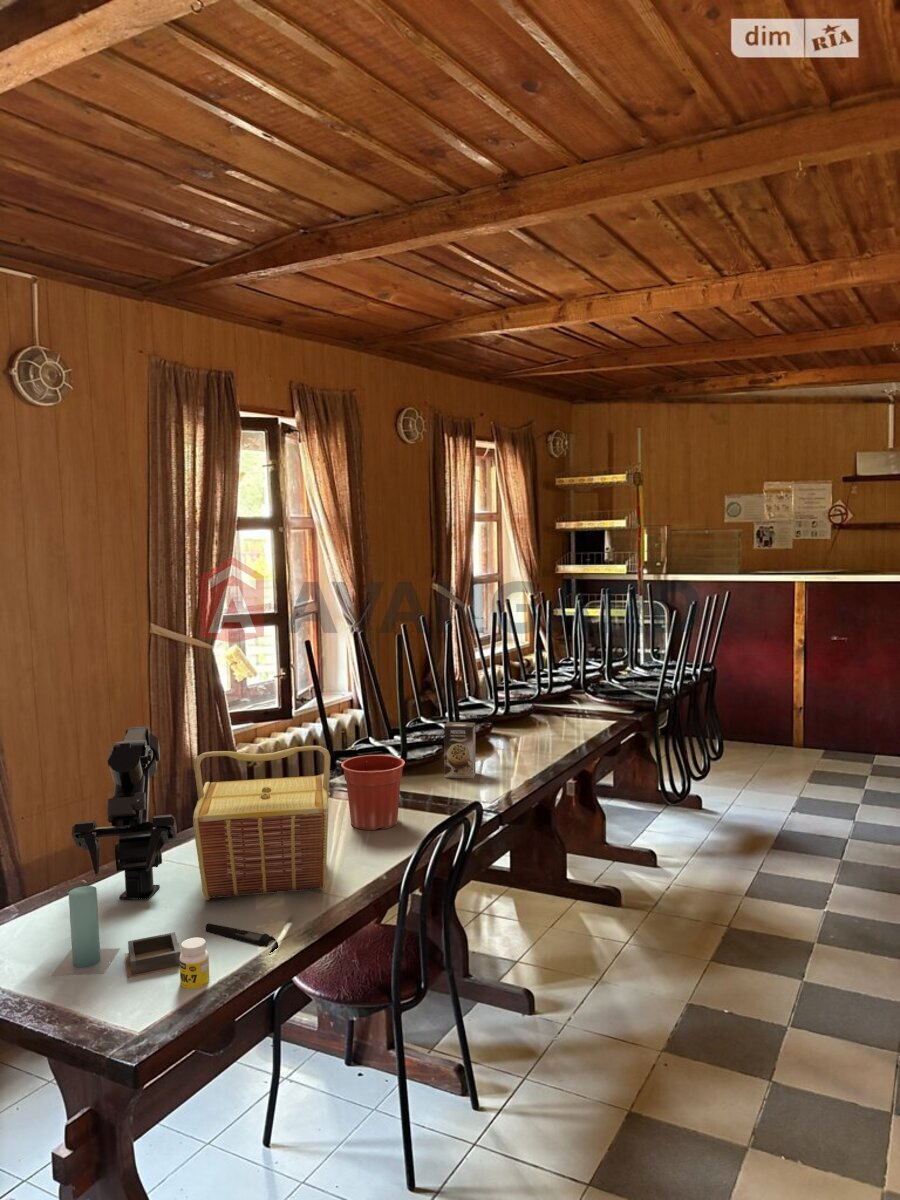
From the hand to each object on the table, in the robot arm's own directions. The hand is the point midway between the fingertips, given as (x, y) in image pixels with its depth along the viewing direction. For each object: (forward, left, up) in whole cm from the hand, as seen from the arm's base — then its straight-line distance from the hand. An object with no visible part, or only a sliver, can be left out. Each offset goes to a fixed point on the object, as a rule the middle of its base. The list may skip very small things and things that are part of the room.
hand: (122, 872), depth 168 cm
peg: (+11, -2, -12) cm, 16 cm away
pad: (+11, -2, -14) cm, 17 cm away
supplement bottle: (+17, +20, -14) cm, 29 cm away
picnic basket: (-28, +20, -14) cm, 37 cm away
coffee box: (-109, +58, -14) cm, 124 cm away
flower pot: (-66, +38, -14) cm, 78 cm away
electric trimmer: (+1, +23, -14) cm, 27 cm away
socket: (+10, +10, -14) cm, 19 cm away
